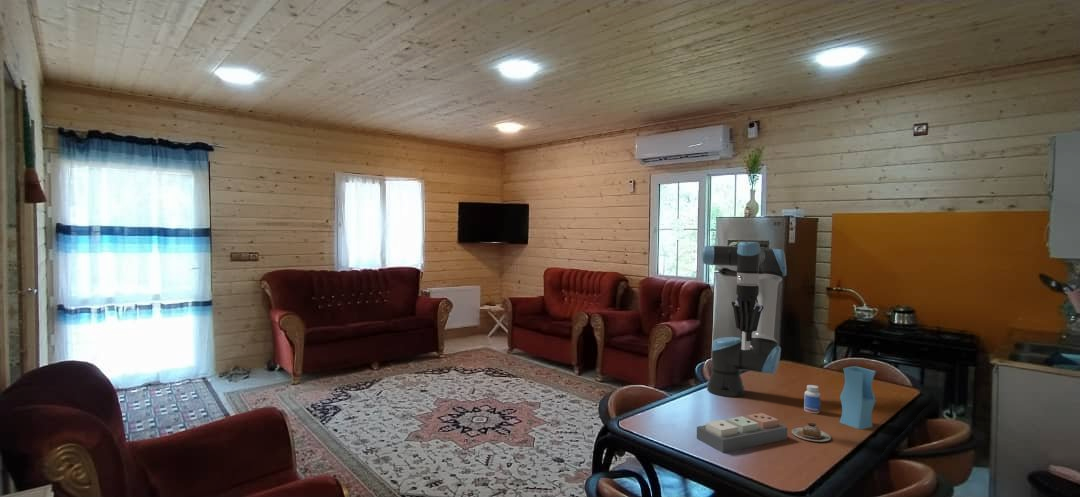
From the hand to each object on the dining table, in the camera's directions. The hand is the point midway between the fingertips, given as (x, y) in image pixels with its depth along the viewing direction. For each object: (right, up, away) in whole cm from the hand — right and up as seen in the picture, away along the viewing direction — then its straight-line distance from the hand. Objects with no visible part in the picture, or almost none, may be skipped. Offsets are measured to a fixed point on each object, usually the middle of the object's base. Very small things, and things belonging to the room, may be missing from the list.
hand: (745, 349), depth 191 cm
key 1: (-15, -25, -19) cm, 35 cm away
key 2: (-7, -25, -15) cm, 30 cm away
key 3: (+1, -25, -12) cm, 27 cm away
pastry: (+17, -28, -12) cm, 35 cm away
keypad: (-7, -27, -15) cm, 32 cm away
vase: (+40, -27, -1) cm, 48 cm away
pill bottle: (+30, -27, +13) cm, 42 cm away
